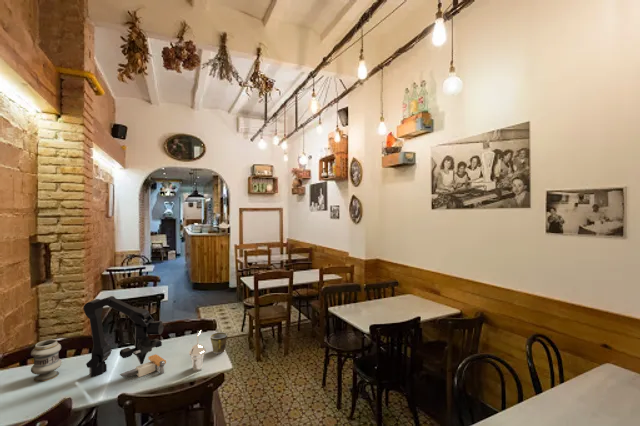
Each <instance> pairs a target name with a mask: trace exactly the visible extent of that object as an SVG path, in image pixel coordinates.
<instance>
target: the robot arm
mask: <svg viewBox="0 0 640 426" xmlns="http://www.w3.org/2000/svg"><path fill="white" fill-rule="evenodd" d="M104 307H109V308H112V309H114V310H115V311H118V312H120V313H121V314H124V315H125V316H128V317H129V319H130V321H132V322H133V323H132V324H131V325H130V328H134V338H133V339H134V341H135V342H134V344H133V346H134V348H133V347H132V348H130V347H126V348H123V349H120V351H119V356H120V357H121V358H122V359H127V358H130V357H131V356H132V355H134V356H135V357H137V360H138V361H139V364H140V365H143V364H144V361H145V358H146V356H147V355H148V353H149V352H152V350H153V348H159V347H162V346H163V342H162V340H160V339H159V338H154V339H151V340H150V338H149V336H152V335H154V336H155V335H156V336H158V335H159V336H160V335H162V334H163V332H164V324H163V323H162V320H158V321H157V320H155V321H154V318H153V317H152V315H151V314H150V311H149V310H148V309H146V308H144V307H137V306H136V307H135V306H133V305H131V304H129V303H126V302H124V301H122V300H120V299H118V298H116V297H115V296H114V295H110V296H107V297H105V298H101V299H100V298H95V299H93V300H91V301H88V302H86V303H85V304H84V305H83V311H84V314H85V316H86V317H87V318H88V319H89V323H90V324H89V325H90V329H91V337H92V342H93V344H92V345H93V347H92V350H91V359H90V360H88V361H87V362H86V363H85V365H86V367H87V368H88V369H89V374H88V376H90V377H91V378H92V377H98V376H100V375H103V374H104V373H106V372H107V371H108V370H107V363H106V361H107V360H108V358H109V357H110V356H111V354H112V351H113V350H112V344H111V343H107V342H106V338H105V332H104V326H103V320H102V314H103V311H104ZM148 335H149V336H148Z"/></svg>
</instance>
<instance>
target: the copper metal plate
mask: <svg viewBox="0 0 640 426" xmlns="http://www.w3.org/2000/svg"><path fill="white" fill-rule="evenodd" d="M147 360H148V361H149V362H153V363H154V364H156V365H157V366H164V367H165V365H166V364H167V360H165V359H164V358H162V357H161V356H160V355H158V354H152V355H150V356H148V359H147Z"/></svg>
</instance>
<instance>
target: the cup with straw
mask: <svg viewBox="0 0 640 426" xmlns="http://www.w3.org/2000/svg"><path fill="white" fill-rule="evenodd" d="M201 333H202V329H200V331H199V332H198V333H197V334H196V335H197V336H196V344H194V345H193V346H192V347H191V349H190V350H189V352H188V355H189V356H190V359H191V365H192V370H193V371H196V373H199V372H201V371H202V370H203V369H202V368H203V362H204V356H205V354H206V352H207V350H206V348H205V347H204V345H202V344H201V343H199V336H200V334H201Z"/></svg>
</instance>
